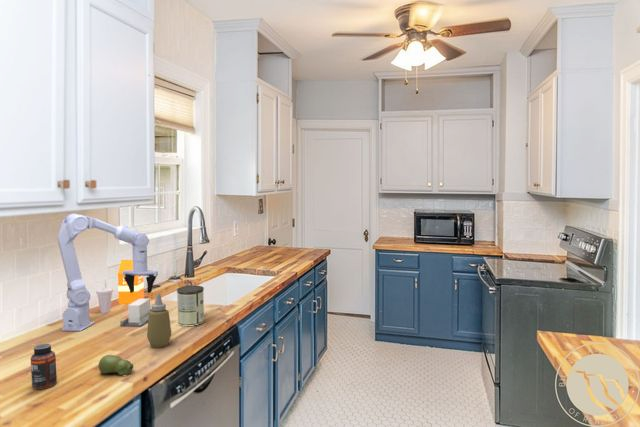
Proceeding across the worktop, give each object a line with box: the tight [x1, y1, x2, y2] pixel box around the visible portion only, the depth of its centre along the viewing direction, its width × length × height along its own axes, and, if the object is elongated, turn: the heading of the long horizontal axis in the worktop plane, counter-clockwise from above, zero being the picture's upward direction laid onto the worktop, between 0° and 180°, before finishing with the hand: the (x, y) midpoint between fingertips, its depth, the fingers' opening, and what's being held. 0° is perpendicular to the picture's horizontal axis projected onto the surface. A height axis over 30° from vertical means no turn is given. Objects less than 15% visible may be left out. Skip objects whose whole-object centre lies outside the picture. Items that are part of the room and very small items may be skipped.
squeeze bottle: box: [146, 293, 172, 348], centre depth 152 cm, size 8×8×18 cm
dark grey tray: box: [119, 308, 152, 328], centre depth 180 cm, size 16×8×2 cm, turn 178°
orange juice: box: [117, 259, 145, 305], centre depth 205 cm, size 8×9×20 cm
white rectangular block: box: [127, 298, 151, 323], centre depth 179 cm, size 10×4×7 cm, turn 177°
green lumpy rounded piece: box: [97, 354, 134, 376], centre depth 131 cm, size 6×5×10 cm
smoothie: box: [96, 279, 114, 314], centre depth 190 cm, size 6×6×14 cm
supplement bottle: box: [30, 343, 58, 390], centre depth 122 cm, size 6×6×11 cm
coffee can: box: [176, 285, 205, 327], centre depth 176 cm, size 10×10×14 cm
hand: (140, 292), depth 187 cm, fingers open, 7 cm apart
